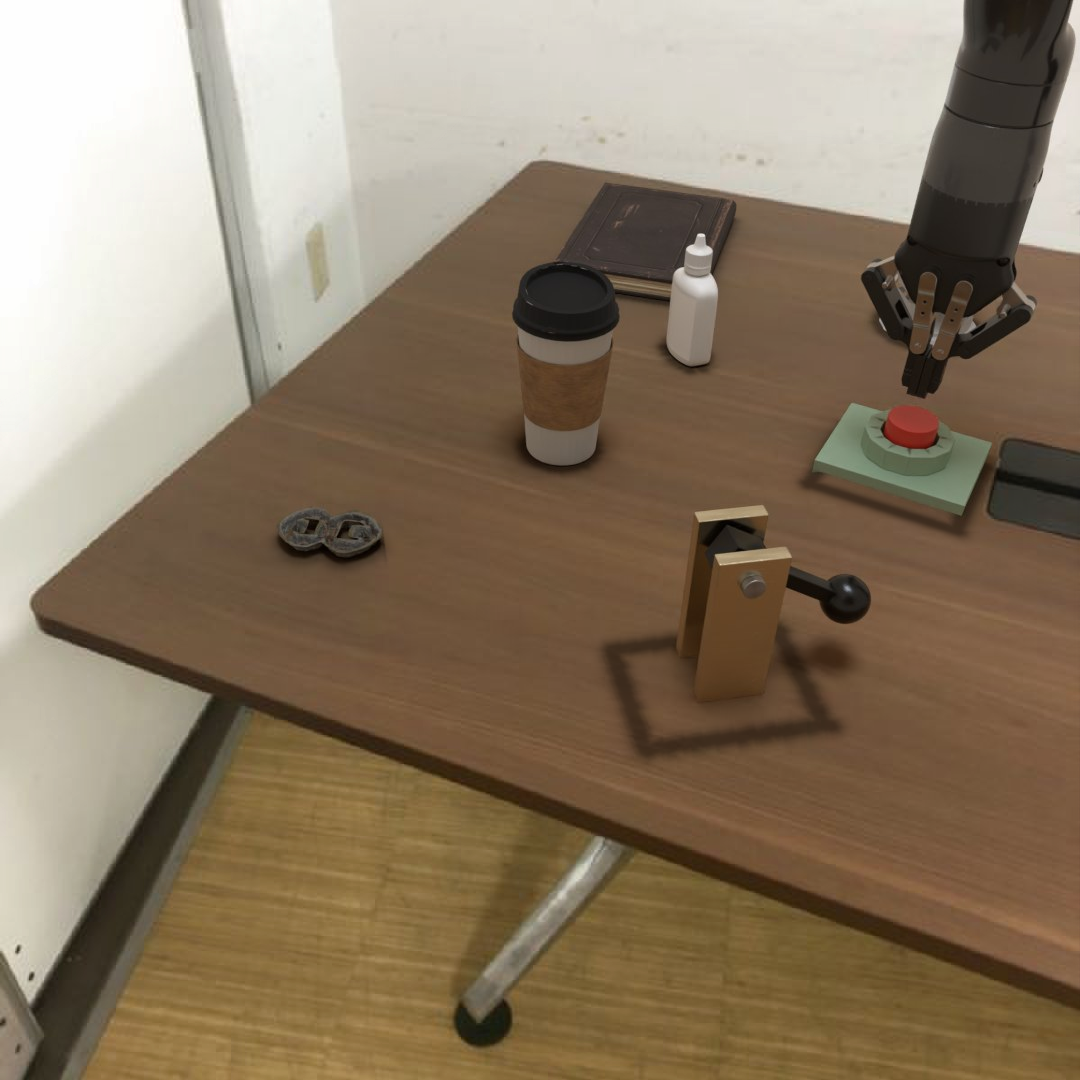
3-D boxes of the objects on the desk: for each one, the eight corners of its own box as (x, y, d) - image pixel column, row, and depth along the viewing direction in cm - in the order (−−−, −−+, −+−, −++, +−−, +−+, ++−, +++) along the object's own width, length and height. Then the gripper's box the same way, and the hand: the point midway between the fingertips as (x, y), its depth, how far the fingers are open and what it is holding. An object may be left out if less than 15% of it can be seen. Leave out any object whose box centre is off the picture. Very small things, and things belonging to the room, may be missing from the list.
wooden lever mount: (778, 626, 78) (810, 479, 70) (827, 722, 72) (868, 572, 64) (612, 646, 77) (625, 498, 68) (646, 747, 70) (664, 595, 62)
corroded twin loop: (289, 513, 87) (287, 502, 86) (390, 523, 86) (389, 512, 86) (269, 554, 83) (267, 543, 82) (374, 565, 82) (373, 554, 82)
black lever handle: (837, 606, 74) (868, 572, 72) (856, 639, 72) (889, 605, 70) (697, 552, 68) (728, 513, 67) (712, 586, 66) (745, 547, 65)
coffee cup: (598, 414, 99) (608, 256, 89) (620, 470, 92) (633, 306, 83) (504, 422, 98) (504, 262, 88) (520, 479, 91) (521, 313, 82)
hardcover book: (551, 283, 118) (552, 262, 117) (603, 200, 135) (604, 182, 134) (700, 306, 115) (703, 285, 114) (735, 218, 132) (737, 199, 131)
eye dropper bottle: (662, 365, 106) (674, 246, 98) (666, 336, 110) (678, 220, 102) (709, 370, 105) (724, 250, 98) (711, 340, 109) (726, 224, 102)
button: (939, 432, 91) (944, 413, 90) (927, 456, 89) (932, 437, 88) (891, 418, 93) (895, 400, 92) (877, 441, 90) (882, 423, 89)
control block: (985, 464, 94) (998, 424, 92) (957, 528, 87) (970, 487, 85) (846, 423, 99) (855, 384, 96) (810, 481, 92) (818, 441, 89)
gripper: (870, 174, 77) (822, 390, 88) (1071, 217, 72) (994, 440, 83) (898, 141, 82) (850, 349, 93) (1088, 179, 77) (1013, 394, 88)
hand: (918, 392), depth 88 cm, fingers closed
